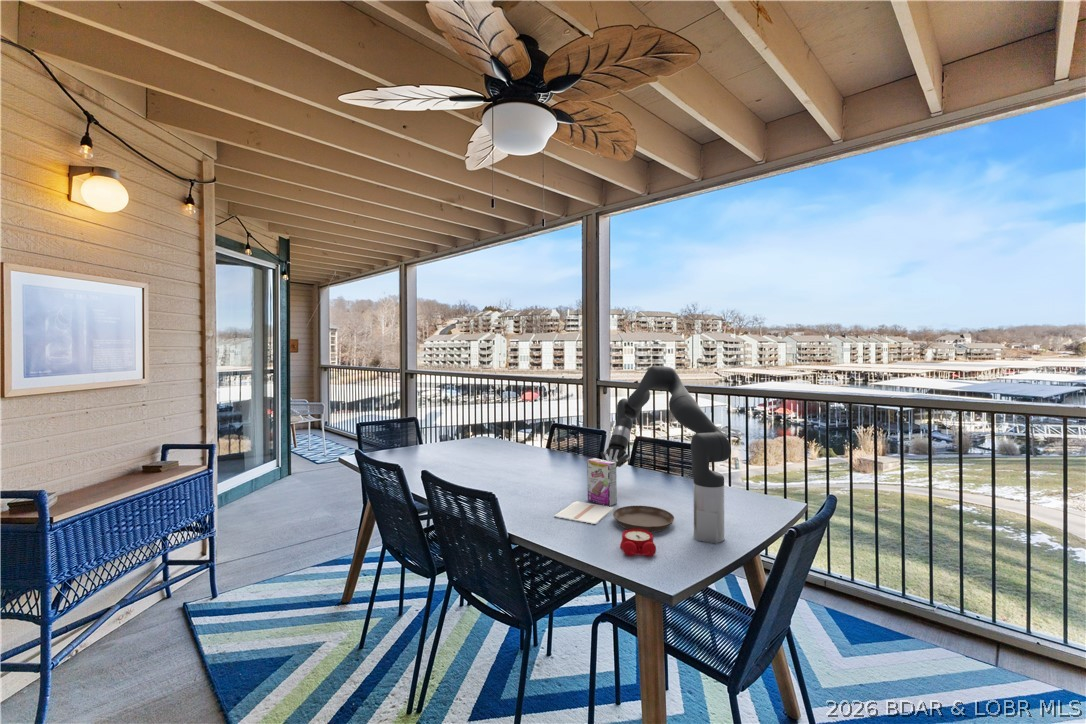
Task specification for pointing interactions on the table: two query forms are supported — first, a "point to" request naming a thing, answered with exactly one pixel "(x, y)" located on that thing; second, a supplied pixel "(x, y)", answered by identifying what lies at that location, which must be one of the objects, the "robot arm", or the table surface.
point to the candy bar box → (602, 481)
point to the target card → (585, 512)
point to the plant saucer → (643, 518)
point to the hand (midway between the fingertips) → (609, 474)
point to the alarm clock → (637, 542)
